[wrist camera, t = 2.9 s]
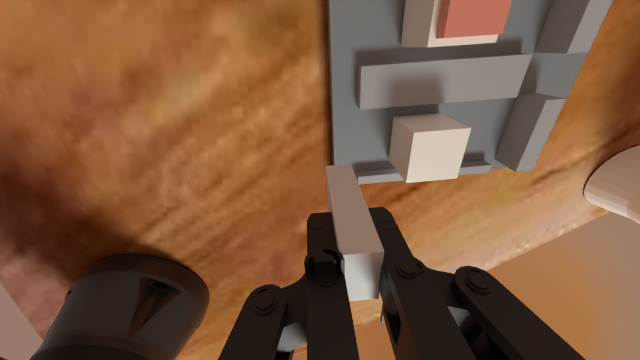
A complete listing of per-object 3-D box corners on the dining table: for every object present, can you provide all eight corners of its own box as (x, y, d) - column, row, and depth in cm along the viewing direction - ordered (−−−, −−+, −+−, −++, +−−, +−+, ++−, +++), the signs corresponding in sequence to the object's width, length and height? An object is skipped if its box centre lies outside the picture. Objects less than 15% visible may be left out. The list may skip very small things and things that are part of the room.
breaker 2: (388, 160, 21) (406, 182, 17) (393, 116, 19) (414, 132, 15) (431, 156, 21) (457, 178, 18) (440, 112, 19) (471, 127, 16)
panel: (333, 175, 23) (338, 197, 20) (325, -57, 15) (332, -88, 11) (522, 158, 24) (559, 177, 20) (623, -73, 15) (717, -108, 12)
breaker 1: (400, 47, 16) (434, 47, 12) (408, -27, 14) (452, -57, 10) (455, 43, 16) (506, 42, 12) (470, -31, 14) (538, -62, 10)
